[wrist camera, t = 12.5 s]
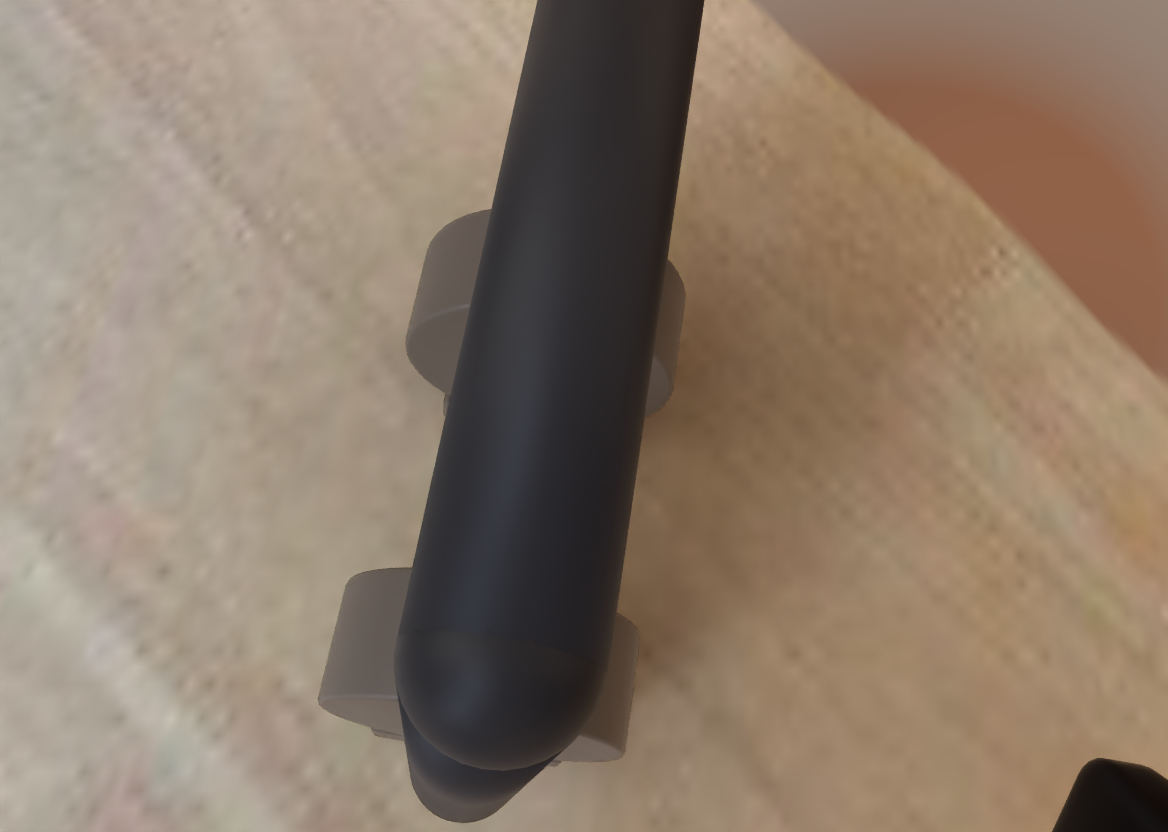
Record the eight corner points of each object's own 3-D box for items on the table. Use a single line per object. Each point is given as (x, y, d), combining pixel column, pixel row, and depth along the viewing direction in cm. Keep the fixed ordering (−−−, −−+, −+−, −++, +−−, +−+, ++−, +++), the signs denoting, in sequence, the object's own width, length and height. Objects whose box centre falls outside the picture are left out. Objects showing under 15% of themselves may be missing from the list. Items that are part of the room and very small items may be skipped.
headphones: (585, 852, 16) (824, 815, 7) (313, 806, 16) (138, 698, 6) (662, 315, 20) (891, -229, 10) (439, 271, 20) (453, -330, 10)
